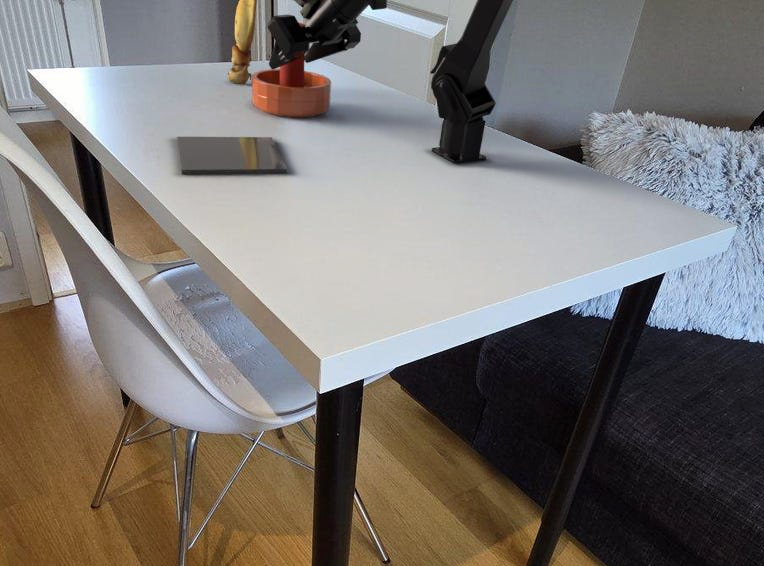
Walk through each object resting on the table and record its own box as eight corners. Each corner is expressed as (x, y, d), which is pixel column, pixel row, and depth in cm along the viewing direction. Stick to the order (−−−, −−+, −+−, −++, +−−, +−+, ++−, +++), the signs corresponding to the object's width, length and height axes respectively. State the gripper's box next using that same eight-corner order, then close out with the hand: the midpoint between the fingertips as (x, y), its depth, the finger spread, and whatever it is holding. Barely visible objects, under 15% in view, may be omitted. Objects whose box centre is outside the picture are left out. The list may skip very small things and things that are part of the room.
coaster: (271, 140, 102) (271, 137, 102) (287, 173, 91) (287, 169, 91) (177, 140, 98) (176, 136, 98) (181, 174, 87) (181, 169, 87)
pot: (343, 116, 117) (345, 86, 114) (272, 121, 111) (272, 90, 108) (307, 95, 126) (308, 67, 123) (240, 99, 120) (239, 70, 117)
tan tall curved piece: (261, 88, 127) (260, -31, 116) (234, 89, 125) (230, -33, 114) (251, 79, 132) (249, -36, 121) (225, 79, 130) (221, -38, 119)
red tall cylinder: (307, 106, 118) (309, 26, 110) (285, 108, 116) (286, 26, 108) (296, 100, 120) (298, 21, 113) (275, 101, 118) (275, 21, 111)
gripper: (351, -45, 109) (298, 17, 120) (277, -45, 96) (224, 25, 107) (386, 16, 111) (330, 72, 122) (317, 25, 98) (261, 87, 108)
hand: (288, 63), depth 115 cm, fingers open, 9 cm apart
